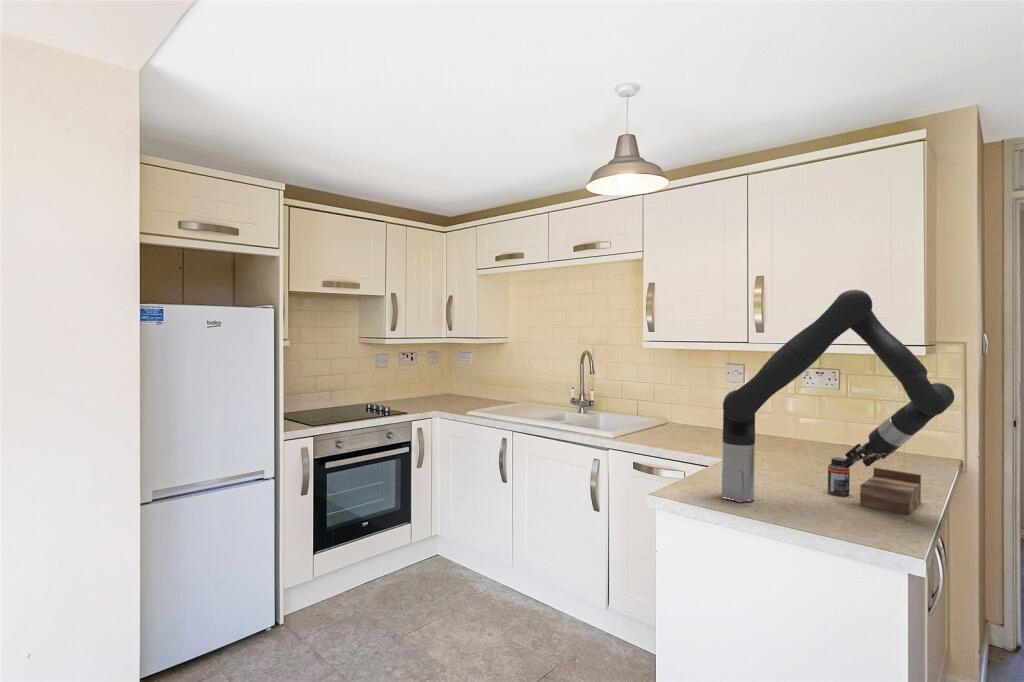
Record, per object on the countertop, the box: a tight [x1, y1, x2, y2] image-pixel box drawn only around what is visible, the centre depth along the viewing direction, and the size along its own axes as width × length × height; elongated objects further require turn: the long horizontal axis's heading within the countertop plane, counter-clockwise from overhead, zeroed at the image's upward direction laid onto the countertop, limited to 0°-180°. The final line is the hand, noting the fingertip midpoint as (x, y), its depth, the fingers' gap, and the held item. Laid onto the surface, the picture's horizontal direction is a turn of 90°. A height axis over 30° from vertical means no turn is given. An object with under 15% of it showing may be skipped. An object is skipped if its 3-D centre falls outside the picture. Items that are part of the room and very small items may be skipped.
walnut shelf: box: [859, 467, 922, 516], centre depth 165 cm, size 16×12×8 cm
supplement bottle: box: [827, 457, 850, 497], centre depth 176 cm, size 6×6×11 cm
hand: (854, 464), depth 170 cm, fingers open, 8 cm apart
